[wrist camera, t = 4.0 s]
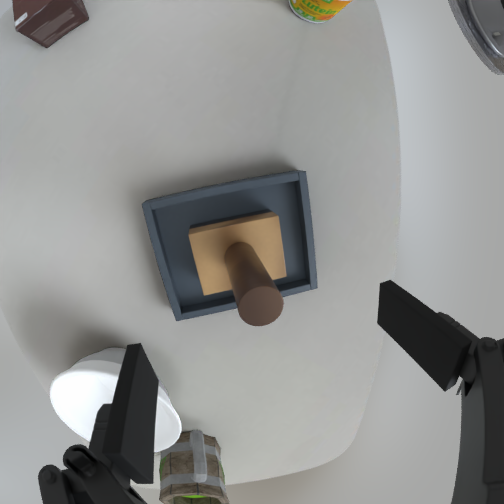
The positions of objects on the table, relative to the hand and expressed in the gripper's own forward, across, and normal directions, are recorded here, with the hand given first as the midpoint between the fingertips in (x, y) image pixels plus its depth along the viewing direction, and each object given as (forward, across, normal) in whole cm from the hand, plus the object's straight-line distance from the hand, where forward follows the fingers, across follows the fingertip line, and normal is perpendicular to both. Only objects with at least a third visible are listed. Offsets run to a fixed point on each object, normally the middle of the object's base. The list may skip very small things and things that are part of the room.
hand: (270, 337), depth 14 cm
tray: (+16, 0, 0) cm, 16 cm away
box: (+16, -15, +31) cm, 38 cm away
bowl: (+16, -18, -14) cm, 28 cm away
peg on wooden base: (+16, 0, 0) cm, 16 cm away
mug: (+16, -14, -32) cm, 38 cm away
